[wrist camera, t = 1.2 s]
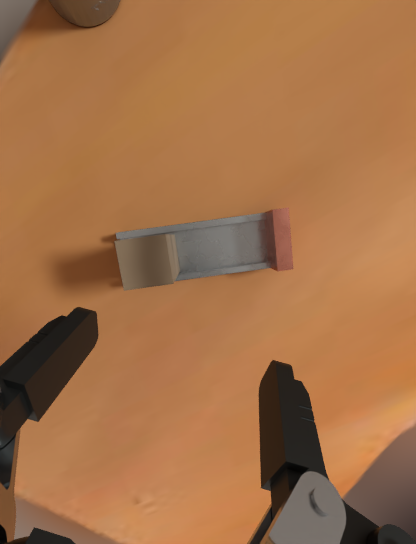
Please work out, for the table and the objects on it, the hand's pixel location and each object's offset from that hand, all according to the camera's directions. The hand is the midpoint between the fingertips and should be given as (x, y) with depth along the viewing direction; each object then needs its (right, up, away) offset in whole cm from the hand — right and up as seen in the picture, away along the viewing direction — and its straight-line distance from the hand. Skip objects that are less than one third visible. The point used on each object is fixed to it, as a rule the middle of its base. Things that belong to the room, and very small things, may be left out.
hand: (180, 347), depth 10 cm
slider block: (-5, +6, +22) cm, 23 cm away
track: (0, +7, +23) cm, 24 cm away
